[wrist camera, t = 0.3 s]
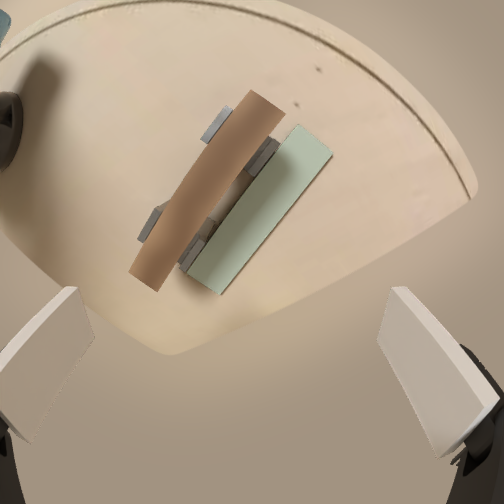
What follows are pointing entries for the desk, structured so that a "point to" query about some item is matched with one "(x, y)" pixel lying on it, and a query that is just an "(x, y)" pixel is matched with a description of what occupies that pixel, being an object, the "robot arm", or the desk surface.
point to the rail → (205, 187)
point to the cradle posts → (203, 232)
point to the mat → (260, 209)
